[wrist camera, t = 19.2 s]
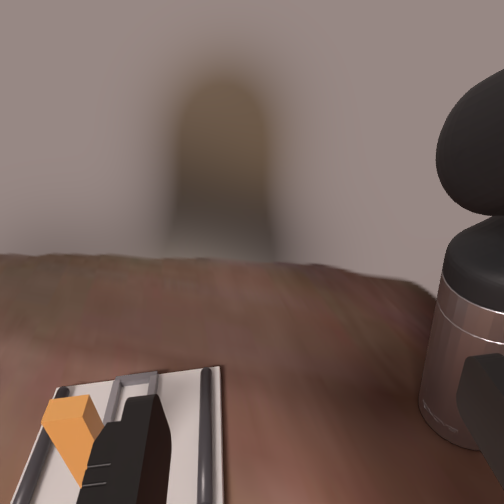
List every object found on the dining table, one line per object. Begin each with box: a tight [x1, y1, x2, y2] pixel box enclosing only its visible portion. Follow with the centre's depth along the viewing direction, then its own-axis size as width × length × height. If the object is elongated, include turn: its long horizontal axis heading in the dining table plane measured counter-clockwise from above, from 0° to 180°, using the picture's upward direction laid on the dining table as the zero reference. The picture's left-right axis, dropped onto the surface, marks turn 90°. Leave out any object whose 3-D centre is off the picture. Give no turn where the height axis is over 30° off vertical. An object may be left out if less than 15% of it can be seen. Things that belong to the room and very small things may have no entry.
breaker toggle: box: [41, 394, 104, 489], centre depth 33 cm, size 5×3×12 cm, turn 95°
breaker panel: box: [10, 366, 224, 504], centre depth 42 cm, size 20×18×3 cm
